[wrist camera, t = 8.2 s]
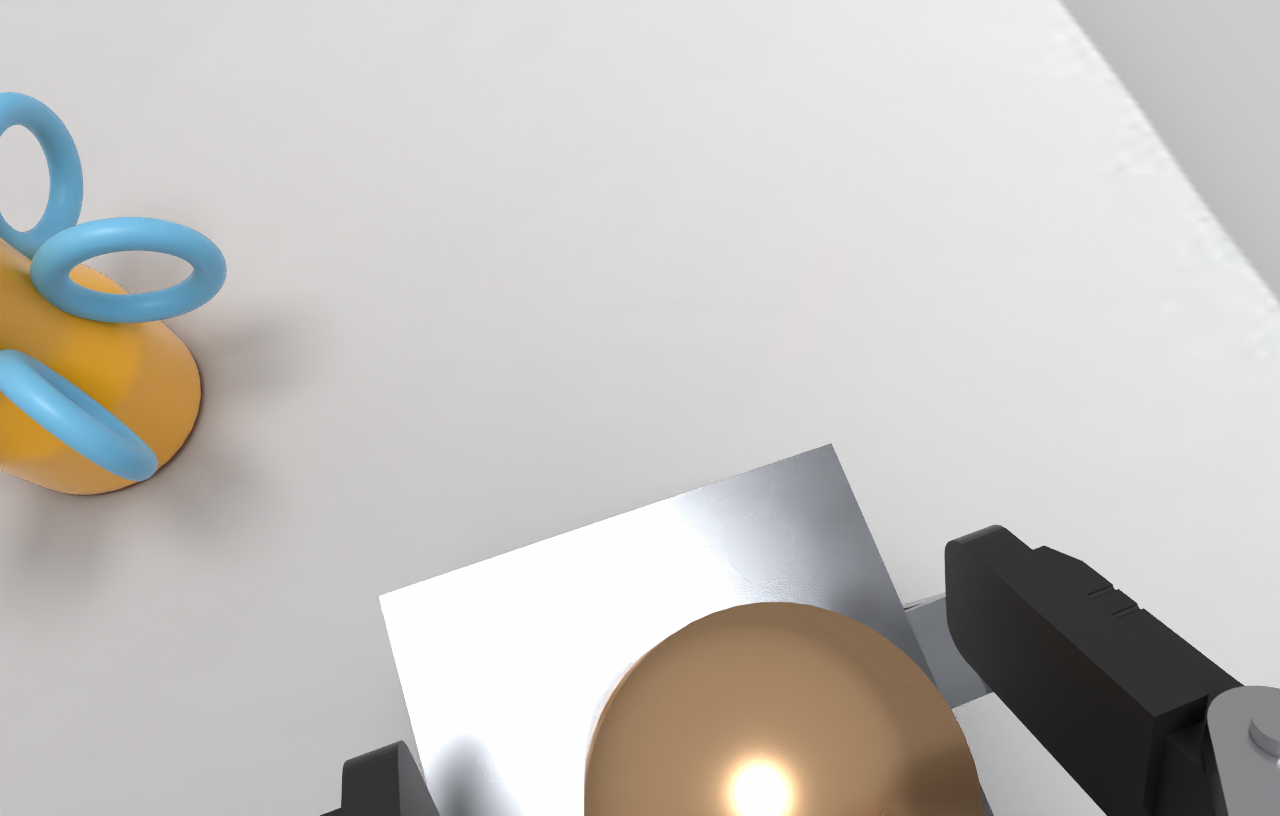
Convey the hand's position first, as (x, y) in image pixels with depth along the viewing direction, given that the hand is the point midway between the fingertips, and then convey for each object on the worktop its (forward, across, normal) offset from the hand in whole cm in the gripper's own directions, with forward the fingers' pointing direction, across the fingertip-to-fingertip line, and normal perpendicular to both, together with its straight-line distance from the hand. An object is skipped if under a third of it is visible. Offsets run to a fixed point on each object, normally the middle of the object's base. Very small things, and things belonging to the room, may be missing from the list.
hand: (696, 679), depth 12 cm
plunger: (+8, 0, +10) cm, 12 cm away
